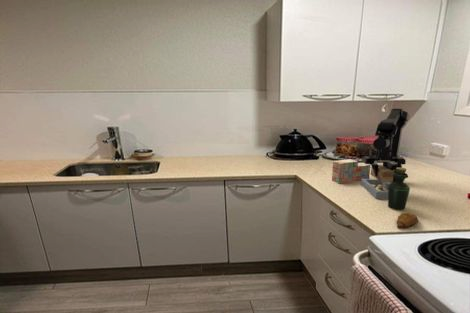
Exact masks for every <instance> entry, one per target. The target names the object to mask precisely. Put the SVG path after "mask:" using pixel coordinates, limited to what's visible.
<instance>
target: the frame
mask: <svg viewBox="0 0 470 313" xmlns="http://www.w3.org/2000/svg"><path fill="white" fill-rule="evenodd" d="M389 184H390V183H389V182H381V181H380V180H378V179H376V178H369V179H361V181H360V185H361V187H363V189H365V190H366V191H367V192H368V193H369V194H370V195H371V196H372V197H373V198H374V199H375V200H388V185H389ZM376 187H377V188H376ZM383 188H384V189H385V190H384V189H383Z"/></svg>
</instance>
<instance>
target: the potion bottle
mask: <svg viewBox="0 0 470 313" xmlns="http://www.w3.org/2000/svg"><path fill="white" fill-rule="evenodd" d="M406 171H407V168H405V167H402V168H401V167H397V168H396V172H394V173H393V176H394V177H395V180H396V182H392V183H390V184H389V185H388V199H387V206H388V207H389V208H390V209H392V210H396V211H403V210H405V209H406V207H407V206H406V205H407V202H408V197H409V195H410V190H411V189H410V186H409V185H408V184H407V183H405V179H408V178H409V175H408V174H407V172H406Z"/></svg>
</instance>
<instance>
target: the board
mask: <svg viewBox="0 0 470 313" xmlns="http://www.w3.org/2000/svg"><path fill="white" fill-rule="evenodd" d="M393 173H394V171H392V170H390V169H388V168H386V167H384V166H383V164H378V173H377V177H376V176H375V174H374V170H373V167H372V166H371V167H370V175H371V177H372V178H374V179H378V180H380V181H381V182H393Z"/></svg>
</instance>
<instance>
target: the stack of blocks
mask: <svg viewBox="0 0 470 313" xmlns="http://www.w3.org/2000/svg"><path fill="white" fill-rule="evenodd" d="M370 175H371V165H370V164H365V163H364V162H359V161H357V160H354V159H341V160H340V159H339V160H333V161H332V174H331V181H332V182H335V183H337V184H346V183H347V184H348V183H354V182H361V179H370Z"/></svg>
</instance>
